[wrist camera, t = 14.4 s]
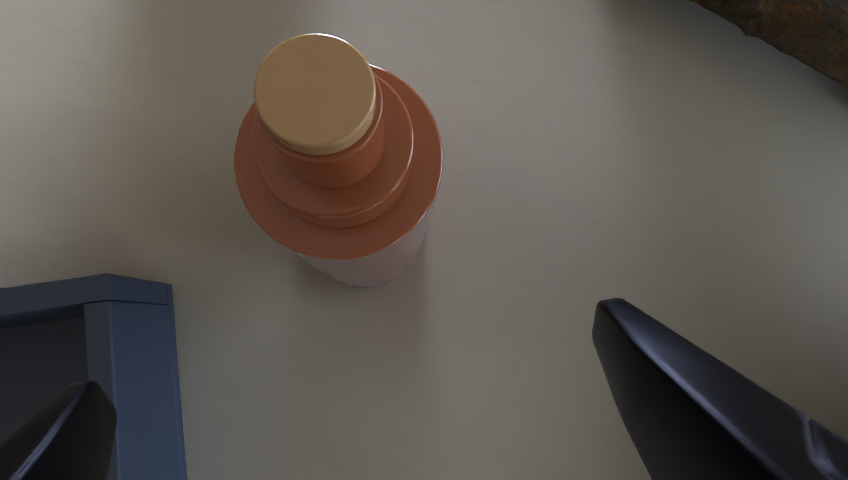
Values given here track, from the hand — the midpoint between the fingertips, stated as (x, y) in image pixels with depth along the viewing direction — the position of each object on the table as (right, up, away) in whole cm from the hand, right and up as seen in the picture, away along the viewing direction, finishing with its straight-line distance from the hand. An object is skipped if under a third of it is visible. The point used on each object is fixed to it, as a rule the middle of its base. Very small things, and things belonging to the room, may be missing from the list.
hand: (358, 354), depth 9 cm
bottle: (-1, +3, +11) cm, 12 cm away
